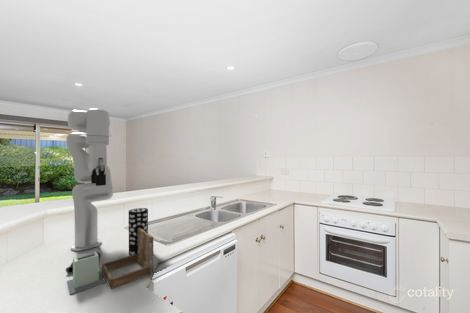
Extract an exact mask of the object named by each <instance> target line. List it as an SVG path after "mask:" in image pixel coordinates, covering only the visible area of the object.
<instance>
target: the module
mask: <svg viewBox="0 0 470 313" xmlns="http://www.w3.org/2000/svg"><path fill="white" fill-rule="evenodd" d="M91 251H92V252H90V251H87V252H88V253H86V252H83V253H84V254H83V253H81V254H77V255H75V256H73V257H72V262H73V270H72V279H73V284H74V288H78V287H80V286H83V285H86V284H89V283H92V282H95V281H98V280H99V271H100V269H99V268H100V267H99V266H100V263H99V260H100V258H99V255H98V254H97V252H96V251H97V250H91ZM93 251H94V252H93Z"/></svg>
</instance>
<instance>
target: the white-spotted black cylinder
mask: <svg viewBox="0 0 470 313" xmlns="http://www.w3.org/2000/svg"><path fill="white" fill-rule="evenodd" d="M138 228H141V229H143V230H144V231H146V232H147V233H148V234H149V209H148V208H146V207H138V208H137V207H136V208H132V209H128V256H131V255H134V254H138Z"/></svg>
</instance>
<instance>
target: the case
mask: <svg viewBox="0 0 470 313" xmlns="http://www.w3.org/2000/svg"><path fill="white" fill-rule="evenodd" d="M134 263H137V264H138V265H139V266H140V267H141V268H139V269H135V270H133V271H130V272H127V273H124V274H121V275H119V276H116V277H113V276H112V274H111V272H110V271H111V270H115V269H118V268H121V267H125V266H127V265H131V264H134ZM154 269H155V268H154V236H152V235H151V234H150V233H149V232H148V233H147V232H146V231H144V230H143V229H141V228H138V254H134V255H131V256H129V255H128V256H125V257H121V258H118V259H115V260H111V261H107V262H105V263H102V264H101V274H103V275H102V276H103V278H105V279H104V280H105V282H107V284H108V286H109V288H110V289H111V290H112V289H115V288H118V287H121V286H123V285H126V284H128V283H131V282H135V281H136V280H139V279H142V278H144V277H148V276H150V277H151V276H153V274H154V271H155V270H154Z"/></svg>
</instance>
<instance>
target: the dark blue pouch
mask: <svg viewBox="0 0 470 313" xmlns="http://www.w3.org/2000/svg"><path fill="white" fill-rule="evenodd" d="M92 251H93V252H94V251H96V252H97V254H98V255H99V259H101V256H102V253H101V252H100V251H97V250H90V251H86V252H83V253H82V254H84V253H88V252H92ZM65 271H66V273H67V274H71V273H73V261H72V263H71V264H70V265H69V266H67V267H66V268H65Z"/></svg>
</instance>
